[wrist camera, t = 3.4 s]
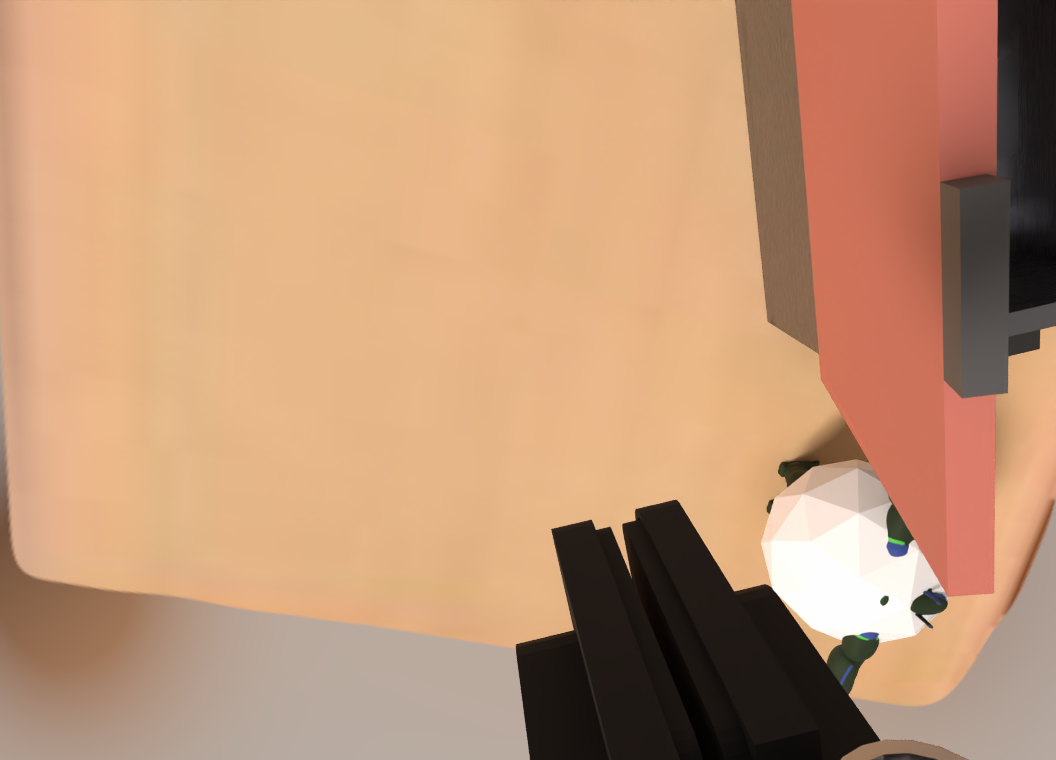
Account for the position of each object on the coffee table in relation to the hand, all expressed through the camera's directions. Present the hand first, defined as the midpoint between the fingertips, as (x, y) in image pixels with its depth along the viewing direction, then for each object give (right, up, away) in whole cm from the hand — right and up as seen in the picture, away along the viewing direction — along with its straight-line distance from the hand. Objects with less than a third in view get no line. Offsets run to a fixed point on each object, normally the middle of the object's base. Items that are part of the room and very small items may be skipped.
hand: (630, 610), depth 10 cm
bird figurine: (+17, -4, +40) cm, 44 cm away
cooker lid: (+11, +8, +15) cm, 21 cm away
